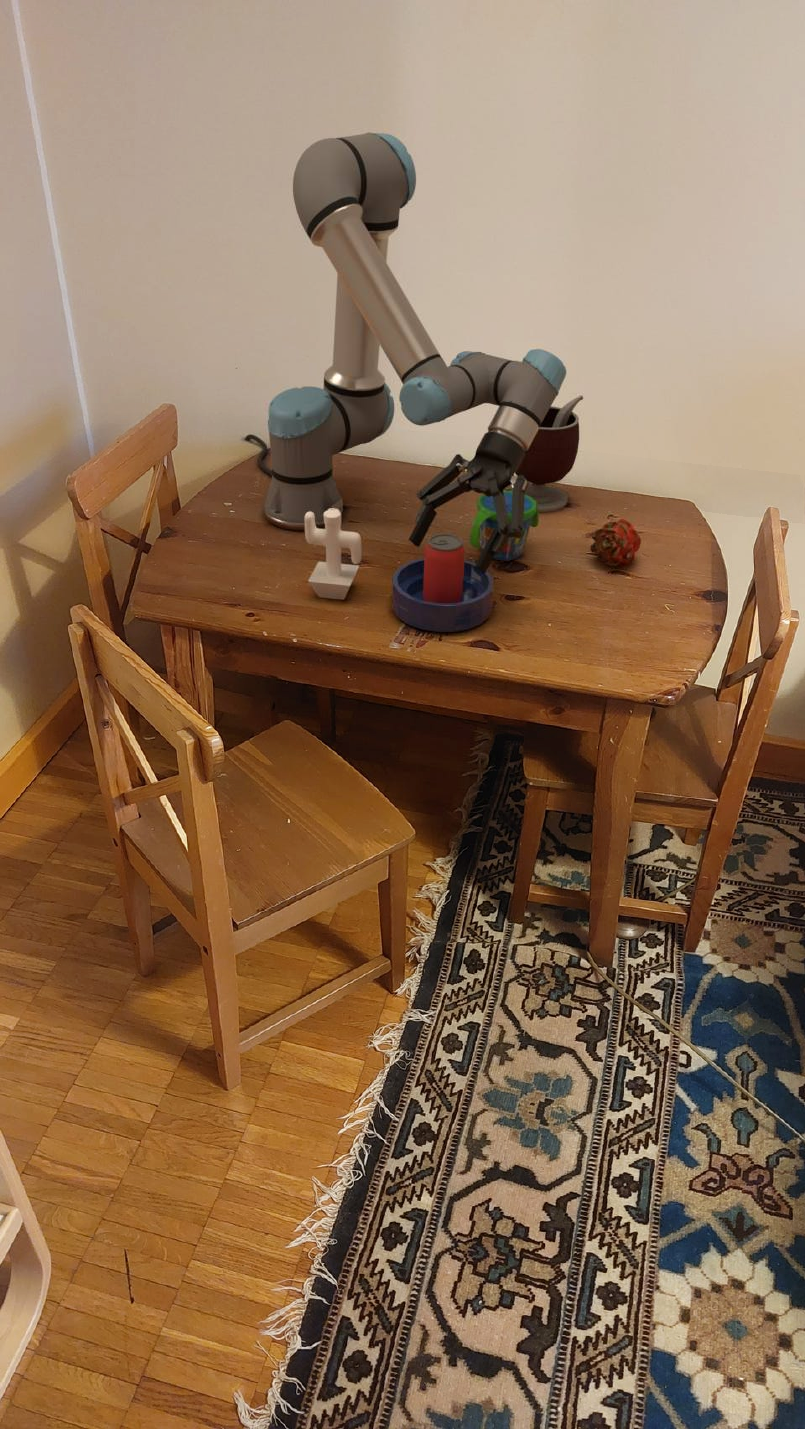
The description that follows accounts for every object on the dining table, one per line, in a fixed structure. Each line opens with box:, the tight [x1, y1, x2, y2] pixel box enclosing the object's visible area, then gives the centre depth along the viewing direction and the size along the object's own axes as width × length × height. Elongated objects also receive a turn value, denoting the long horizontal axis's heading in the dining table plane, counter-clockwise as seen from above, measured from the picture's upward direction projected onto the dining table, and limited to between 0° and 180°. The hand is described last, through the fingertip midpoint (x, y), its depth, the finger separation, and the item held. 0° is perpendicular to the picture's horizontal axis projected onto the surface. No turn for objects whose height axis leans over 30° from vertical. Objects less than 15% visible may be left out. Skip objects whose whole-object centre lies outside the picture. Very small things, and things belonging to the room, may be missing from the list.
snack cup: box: [468, 490, 540, 562], centre depth 183 cm, size 16×10×10 cm
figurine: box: [304, 508, 362, 601], centre depth 169 cm, size 7×9×15 cm
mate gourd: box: [508, 395, 584, 513], centre depth 200 cm, size 16×14×20 cm
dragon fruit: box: [589, 518, 642, 567], centre depth 183 cm, size 8×8×12 cm
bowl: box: [391, 557, 495, 633], centre depth 168 cm, size 17×17×6 cm
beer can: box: [423, 533, 466, 603], centre depth 166 cm, size 7×7×12 cm
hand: (446, 556), depth 164 cm, fingers open, 13 cm apart
